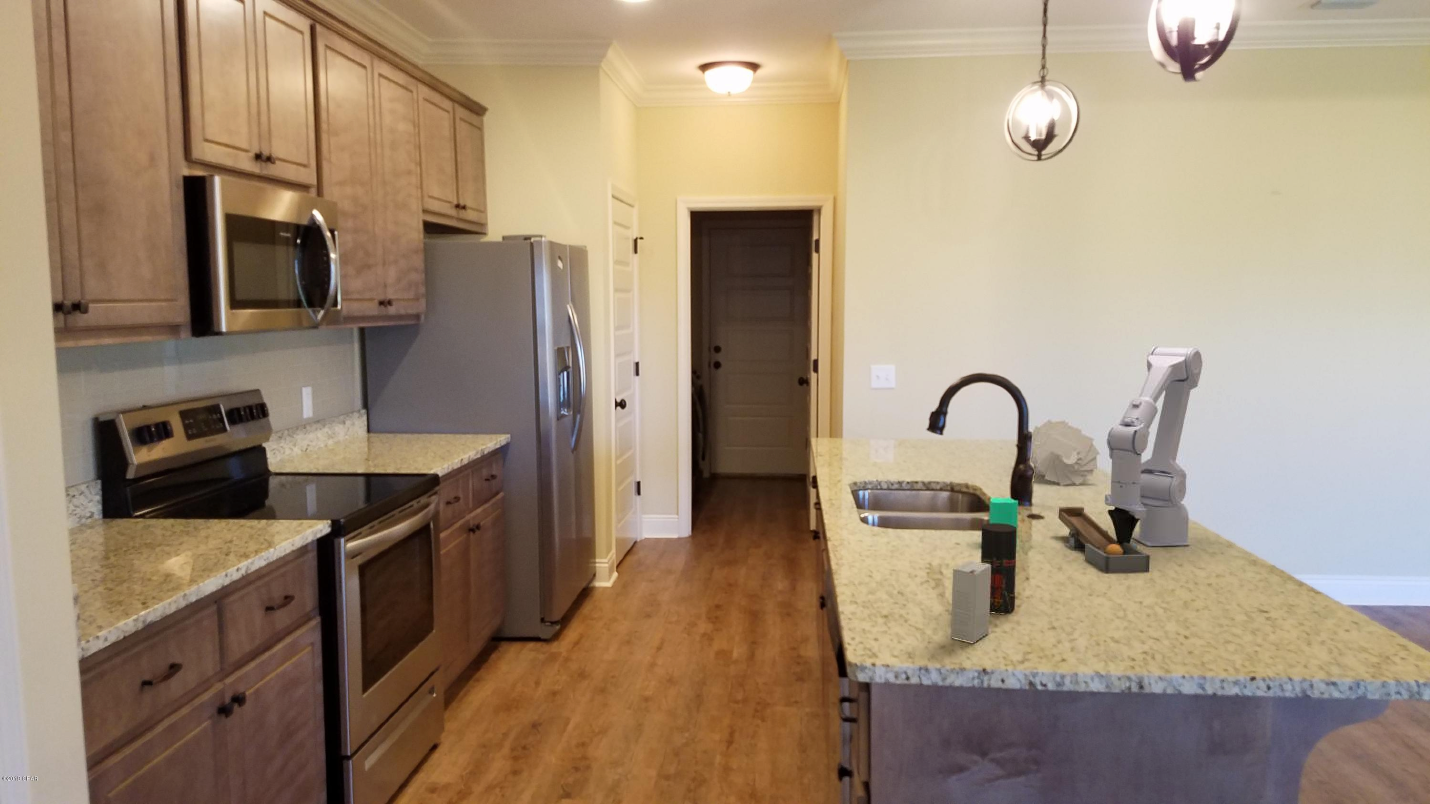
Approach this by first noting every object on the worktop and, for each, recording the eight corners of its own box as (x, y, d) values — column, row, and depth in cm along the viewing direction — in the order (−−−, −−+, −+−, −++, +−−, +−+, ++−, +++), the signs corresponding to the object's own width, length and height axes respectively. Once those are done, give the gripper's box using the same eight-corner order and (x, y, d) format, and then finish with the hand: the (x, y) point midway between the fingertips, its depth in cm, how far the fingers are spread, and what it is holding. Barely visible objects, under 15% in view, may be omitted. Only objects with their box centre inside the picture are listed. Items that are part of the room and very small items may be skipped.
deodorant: (976, 602, 165) (977, 523, 164) (1009, 602, 165) (1011, 522, 163) (985, 614, 159) (986, 531, 158) (1019, 614, 159) (1021, 531, 157)
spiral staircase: (1063, 484, 284) (1085, 498, 259) (1011, 460, 285) (1028, 471, 261) (1090, 432, 282) (1115, 441, 257) (1037, 408, 283) (1057, 415, 258)
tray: (1126, 557, 191) (1127, 542, 191) (1149, 571, 182) (1149, 555, 182) (1084, 558, 191) (1085, 543, 191) (1105, 572, 182) (1105, 556, 181)
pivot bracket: (1102, 544, 202) (1103, 527, 202) (1111, 549, 198) (1112, 532, 197) (1064, 545, 202) (1065, 528, 201) (1073, 550, 198) (1073, 533, 197)
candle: (1018, 549, 199) (1019, 496, 197) (990, 548, 200) (991, 495, 199) (1015, 542, 205) (1016, 490, 203) (987, 541, 206) (988, 490, 204)
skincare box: (965, 628, 153) (966, 559, 151) (990, 634, 150) (992, 563, 149) (949, 639, 148) (950, 567, 147) (975, 645, 145) (976, 572, 144)
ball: (1118, 557, 189) (1117, 542, 189) (1125, 560, 186) (1125, 545, 186) (1103, 558, 189) (1102, 542, 189) (1110, 561, 186) (1110, 545, 186)
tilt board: (1100, 517, 209) (1101, 505, 209) (1142, 554, 190) (1144, 542, 189) (1058, 518, 209) (1059, 506, 208) (1095, 555, 190) (1097, 543, 189)
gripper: (1092, 475, 199) (1090, 535, 201) (1123, 488, 185) (1121, 553, 186) (1123, 474, 199) (1121, 534, 201) (1157, 488, 185) (1154, 552, 187)
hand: (1123, 543), depth 194 cm, fingers closed
